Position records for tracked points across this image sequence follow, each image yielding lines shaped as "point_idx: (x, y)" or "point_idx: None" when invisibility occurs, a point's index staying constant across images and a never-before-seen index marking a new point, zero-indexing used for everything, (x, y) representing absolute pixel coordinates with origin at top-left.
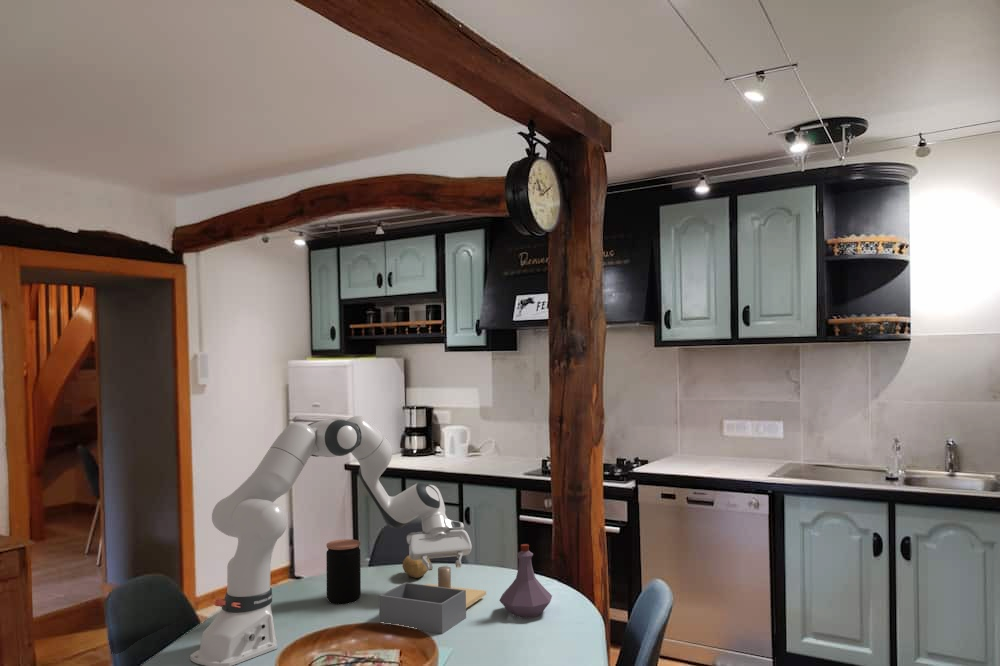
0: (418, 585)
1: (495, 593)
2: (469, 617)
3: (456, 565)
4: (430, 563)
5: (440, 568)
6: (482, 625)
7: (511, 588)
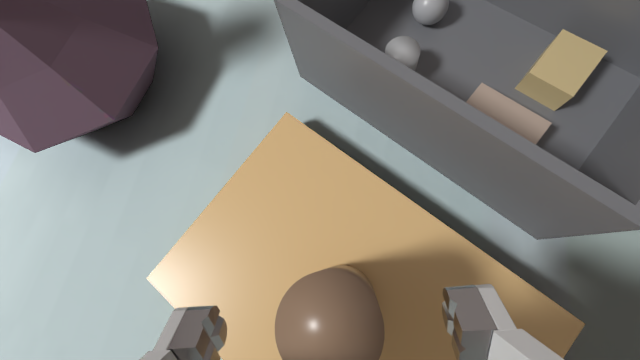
0: (534, 147)
1: (110, 332)
2: (288, 78)
3: (218, 330)
4: (476, 322)
5: (361, 329)
6: (267, 5)
7: (76, 5)
